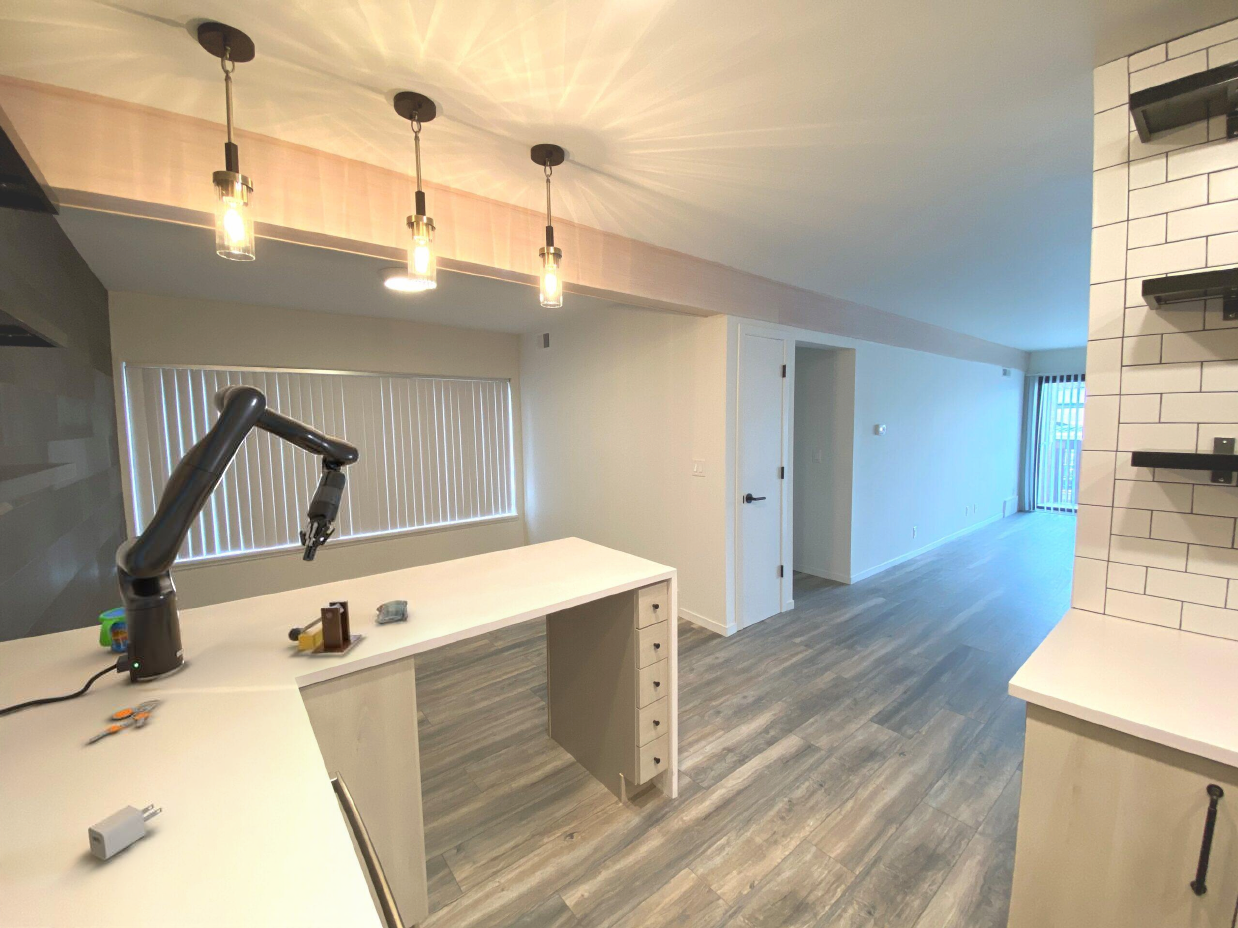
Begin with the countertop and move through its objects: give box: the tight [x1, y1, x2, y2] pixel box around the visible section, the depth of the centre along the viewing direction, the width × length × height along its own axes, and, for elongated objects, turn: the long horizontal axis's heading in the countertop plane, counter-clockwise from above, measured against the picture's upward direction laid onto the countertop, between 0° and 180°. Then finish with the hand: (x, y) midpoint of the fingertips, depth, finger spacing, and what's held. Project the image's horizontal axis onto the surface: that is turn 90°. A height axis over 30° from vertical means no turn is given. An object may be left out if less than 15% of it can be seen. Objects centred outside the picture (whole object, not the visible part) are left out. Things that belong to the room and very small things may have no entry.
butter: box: [298, 626, 323, 651], centre depth 133 cm, size 5×8×5 cm, turn 2°
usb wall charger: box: [87, 803, 163, 861], centre depth 73 cm, size 4×7×4 cm, turn 159°
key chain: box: [88, 699, 161, 742], centre depth 102 cm, size 13×7×1 cm, turn 20°
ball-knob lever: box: [287, 603, 344, 642], centre depth 132 cm, size 15×4×4 cm, turn 91°
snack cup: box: [98, 606, 128, 653], centre depth 135 cm, size 16×10×10 cm
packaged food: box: [374, 599, 408, 624], centre depth 151 cm, size 9×12×5 cm
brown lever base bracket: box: [310, 600, 362, 654], centre depth 132 cm, size 8×10×12 cm
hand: (307, 560), depth 142 cm, fingers closed
